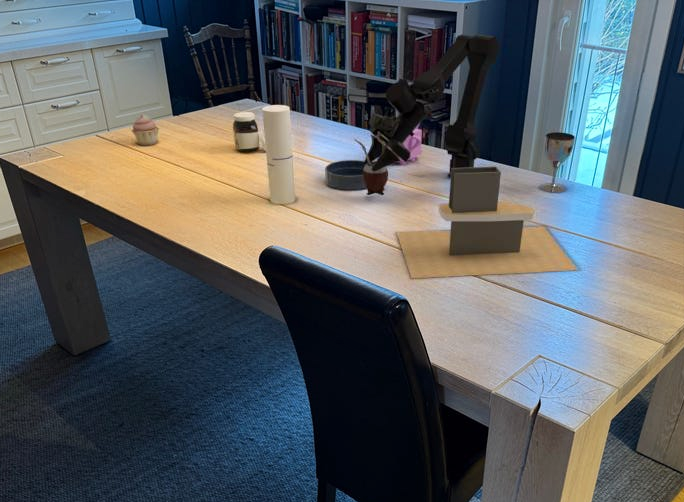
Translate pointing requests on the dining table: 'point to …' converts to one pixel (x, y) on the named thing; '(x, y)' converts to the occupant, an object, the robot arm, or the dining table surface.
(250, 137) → the spread jar
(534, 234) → the architectural model
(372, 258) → the dining table surface
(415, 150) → the teapot
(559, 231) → the dining table surface
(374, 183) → the mate gourd
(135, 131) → the cupcake
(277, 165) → the cylindrical container
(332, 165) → the large metal bowl
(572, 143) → the metal goblet
